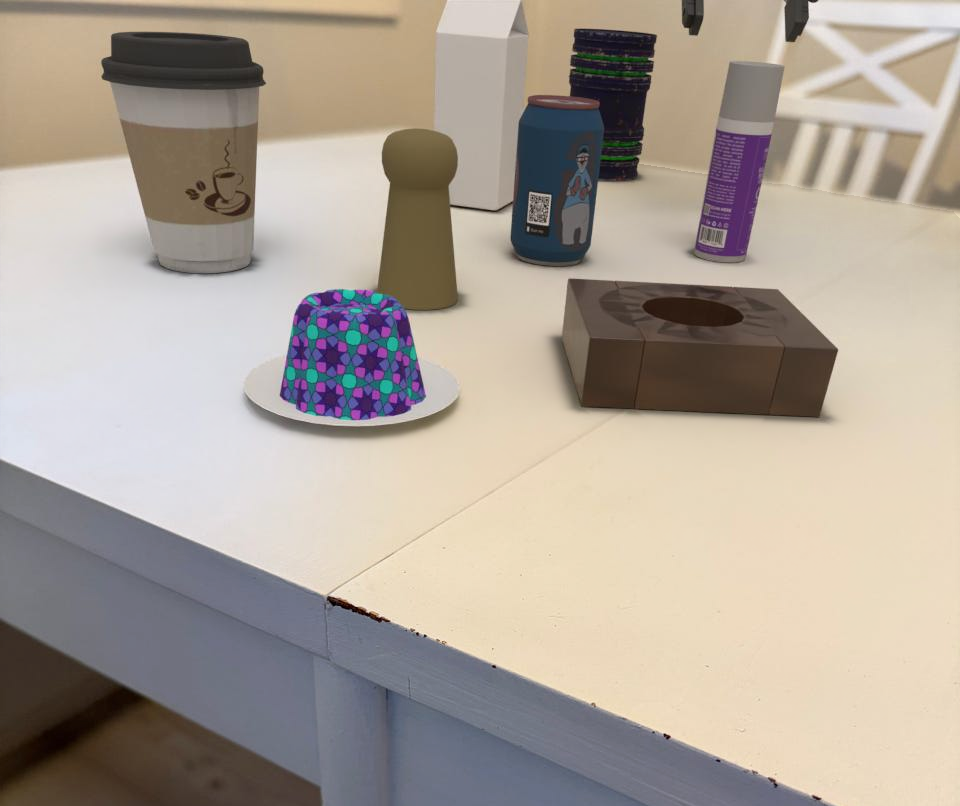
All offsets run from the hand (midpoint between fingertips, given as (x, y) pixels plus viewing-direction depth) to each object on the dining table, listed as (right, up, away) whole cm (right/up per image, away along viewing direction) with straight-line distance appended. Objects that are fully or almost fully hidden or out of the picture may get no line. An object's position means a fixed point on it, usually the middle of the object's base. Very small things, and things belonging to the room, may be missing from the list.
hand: (745, 31), depth 80 cm
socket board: (-10, -35, -21) cm, 43 cm away
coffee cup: (-45, -22, -6) cm, 50 cm away
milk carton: (-23, -6, +19) cm, 31 cm away
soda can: (-17, -19, +1) cm, 25 cm away
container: (-1, -17, +5) cm, 18 cm away
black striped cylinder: (-8, +6, +38) cm, 39 cm away
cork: (-27, -27, -11) cm, 40 cm away
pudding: (-30, -38, -27) cm, 56 cm away
